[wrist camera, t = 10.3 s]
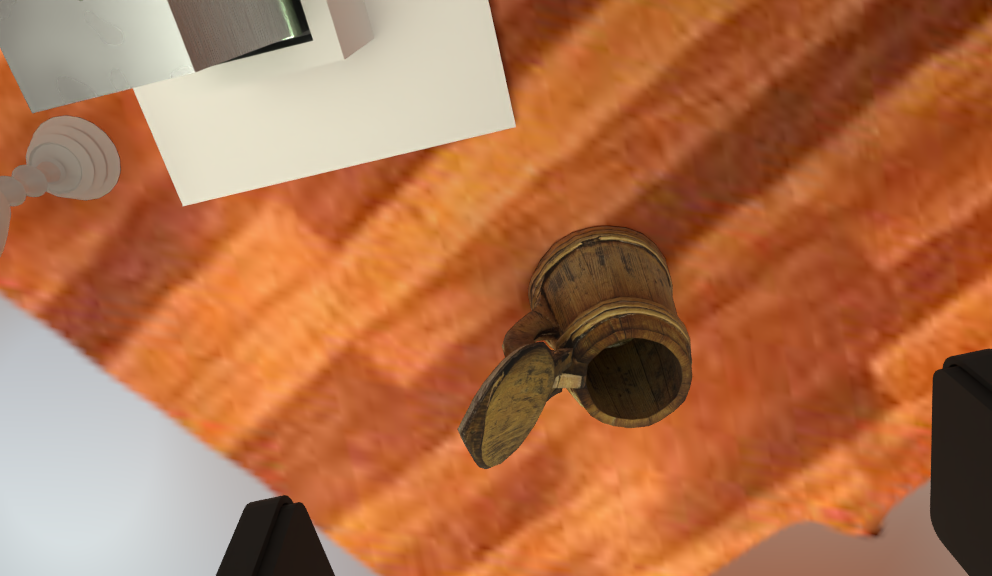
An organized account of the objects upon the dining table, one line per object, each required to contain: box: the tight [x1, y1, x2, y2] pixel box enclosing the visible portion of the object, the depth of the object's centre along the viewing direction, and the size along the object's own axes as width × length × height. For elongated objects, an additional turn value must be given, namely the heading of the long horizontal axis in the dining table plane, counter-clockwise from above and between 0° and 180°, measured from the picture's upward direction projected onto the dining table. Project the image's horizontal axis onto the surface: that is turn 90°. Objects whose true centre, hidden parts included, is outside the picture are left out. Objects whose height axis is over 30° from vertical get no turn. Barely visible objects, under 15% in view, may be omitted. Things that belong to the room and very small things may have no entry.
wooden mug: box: [458, 226, 692, 469], centre depth 39 cm, size 9×14×18 cm, turn 80°
